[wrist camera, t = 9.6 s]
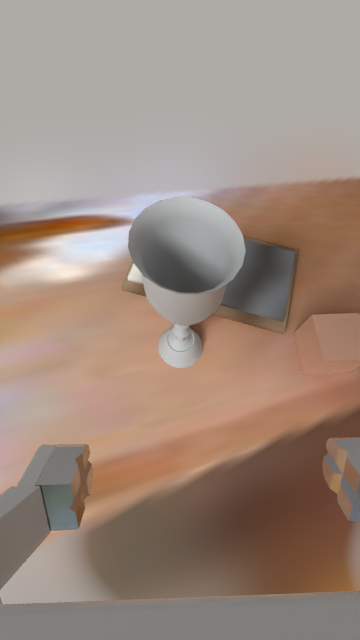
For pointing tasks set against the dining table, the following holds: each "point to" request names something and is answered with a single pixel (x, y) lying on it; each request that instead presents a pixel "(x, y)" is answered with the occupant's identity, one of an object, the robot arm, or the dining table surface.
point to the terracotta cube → (329, 343)
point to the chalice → (185, 267)
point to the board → (250, 286)
